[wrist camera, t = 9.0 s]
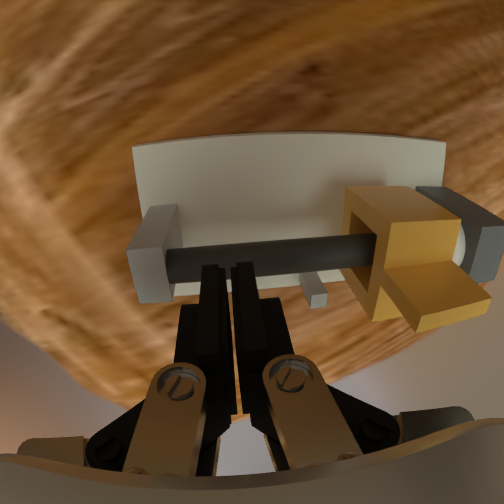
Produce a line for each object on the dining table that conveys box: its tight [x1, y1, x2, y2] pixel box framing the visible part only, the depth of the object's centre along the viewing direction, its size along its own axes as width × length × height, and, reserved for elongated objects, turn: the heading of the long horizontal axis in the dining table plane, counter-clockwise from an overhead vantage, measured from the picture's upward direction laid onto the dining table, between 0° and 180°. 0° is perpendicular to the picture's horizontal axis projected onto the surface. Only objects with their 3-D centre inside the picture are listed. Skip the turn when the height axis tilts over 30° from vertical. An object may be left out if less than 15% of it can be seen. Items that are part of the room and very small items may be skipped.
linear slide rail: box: [126, 132, 504, 309], centre depth 16 cm, size 20×10×8 cm, turn 92°
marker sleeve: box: [339, 186, 492, 333], centre depth 13 cm, size 4×5×8 cm
